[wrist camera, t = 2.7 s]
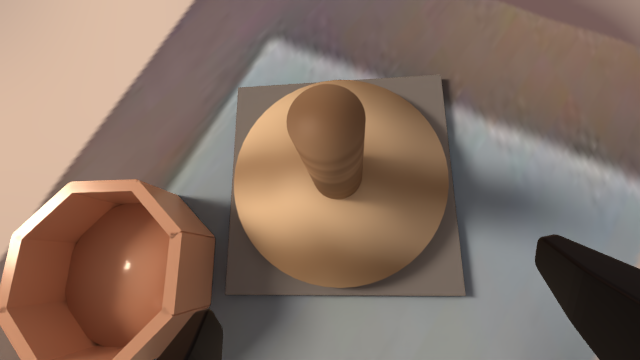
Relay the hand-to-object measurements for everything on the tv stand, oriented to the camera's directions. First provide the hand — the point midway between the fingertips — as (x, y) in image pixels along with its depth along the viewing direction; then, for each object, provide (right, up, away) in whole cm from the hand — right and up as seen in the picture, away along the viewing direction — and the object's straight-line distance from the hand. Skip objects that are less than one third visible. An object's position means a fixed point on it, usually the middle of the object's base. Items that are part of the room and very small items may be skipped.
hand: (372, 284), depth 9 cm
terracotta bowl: (-14, -3, +14) cm, 20 cm away
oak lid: (0, +3, +13) cm, 14 cm away
